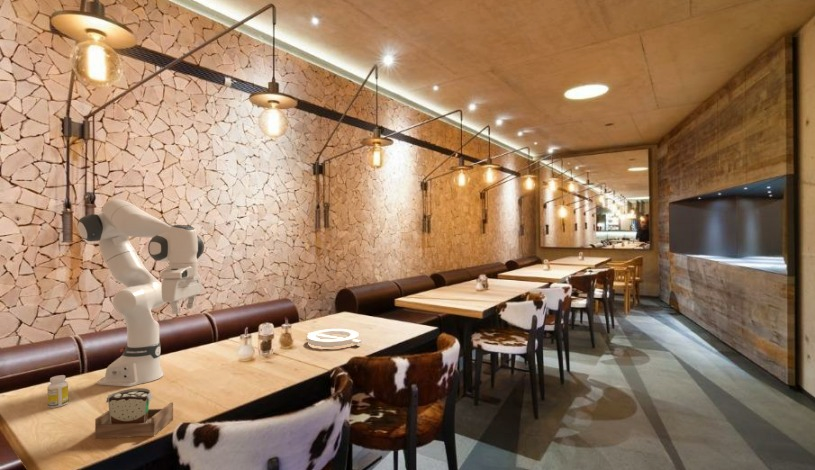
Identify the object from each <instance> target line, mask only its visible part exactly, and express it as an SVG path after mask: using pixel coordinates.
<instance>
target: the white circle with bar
mask: <svg viewBox="0 0 815 470" xmlns="http://www.w3.org/2000/svg"><path fill="white" fill-rule="evenodd" d="M333 334H341V335H347V336H349V337H346V338H343V337H337V336H330V335H333ZM359 336H360V335H359V332H357V331H355V330H352V329H345V328H329V329H320V330H316V331H312V332H308V333H306V339H307V341H306V342H308V343H309V344H311V345H314V346H321V347H334V346H342V345H347V344H351V343H353V344H358V343H361V344H362V339H359V340H358V338H359ZM320 338H323V339H320Z"/></svg>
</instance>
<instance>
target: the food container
mask: <svg viewBox="0 0 815 470" xmlns="http://www.w3.org/2000/svg"><path fill="white" fill-rule="evenodd" d="M152 399H153V395H152V392H151V390H150V389H149V388H144V387H138V388H137V387H135V388H129V389H123V390H120V391H116V392H113V393H110V394H109V395H107V398H106V402H105V403H108V411H109V413H110V423H111V424H128V423H147V418H148V409H150V402H151V400H152Z"/></svg>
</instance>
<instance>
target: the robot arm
mask: <svg viewBox="0 0 815 470" xmlns="http://www.w3.org/2000/svg"><path fill="white" fill-rule="evenodd" d="M77 230H78V234H80V236H81V238H82V239H83V240H86V242H98V247H99V251H100V253H101V256H102V258H103V260H104V263H106V266H107V267H108V269H109V271H110V273H111V274H112V276H113V278H114V280H115V281H117V282H119V283H121V284H123V285H124V286H126V288H124V289H121V290H119V291H118V292H117V293H115V294H114V297H113V298H112V299H113V300H112V306H113V308H114V310H115V311H116V312H118V313H119V314H120V315H121V316H122V318H123V319H124V323H125V326H126V333H127V335H126V336H127V343H126V344H127V345H126V346H124V347H122V348H120V349H119V350H120V351H119V352H120V353H122V352H123V353H122V355H121V356H120V357H118V358H116V359H115V360H114V361H113V362H111V364H109V365H108V366H107V368H106V370H105V372H104V373H105V374H104V376H103V377H101V378H100V379H99V380H98V381H97V385H98V386H115V387H133V386H137V385H139V384H145V383H150V382H153V381H157V380H158V379H161V378H163V377H164V371H163V367H162V364H161V363H162V361H161V353H162V352H161V349H162V348H161V341H160V324H159V322H158V321H157V320H155V319H154V317H153V314H152V310H153V309H157V308H160V307H163V305H165V304H167V303H169V304H170V306H171V311H172V314H173V315H176V314H180V313H181V307H179V303H180V301H181V300H184V299H188V301H187V303H186V309H187V310H189V309H194V307H195V306H194V305H195V304H194V303H195V301H196V296H197V295H200V294H202V291H203V288H202V277H201V274H199V261H198V259H200V257H201V256H202V255H203V254H204V251H205V244H204V242H203V240H202V238H201V237H200V236H199V235H198V233H197V230H196V228H195V227H193V226H191V225H185V224H175V225H173V224H170V223H169V222H166V221H164V220H162V219H161V218H157V217H156V216H153V215H152V214H150V213H148V212H147V211H144V210H142V209H141V208H140V207H138V206H137V205H135V204H134V203H131V202H129V201H127V200H124V199H121V198H112V199H110V200H107V201H106V202H105V203H104V204H103V205H102V208H101V211H100V212H96V213H91V214H87V215H85V216H83V217H80V219H78V221H77ZM129 237H131V238H149V239H150V238H151V239H150V241H149V242H148V246H147V250H148V254H149V256H150V258H152V259H153V261H157V262H168V266H167V268H165V269H164V270H163V271H161V273H160V279H162V281H160V280H158V279H157V278H156V277H155V276H154V275H153V274H152V273H151V272H150V271H149V270H148V269H147V268H146V267H145V265H144V263H143V262H142V260H141V258H140V256H139V255H138V253H137V251H136V249H135V248H134V246H133V245H132V244H131V241H130V239H129Z"/></svg>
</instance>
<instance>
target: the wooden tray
mask: <svg viewBox="0 0 815 470" xmlns="http://www.w3.org/2000/svg"><path fill="white" fill-rule="evenodd" d="M94 420H95V421H94V422H95V425H94V426H95V427H94V428H95V431H94V433H95V435H94V436H95V437H94V438H95V439H107V438H108V437H117V438H128V437H127V436H152V437H155V436H156V435H158V434H159V433H160V432H161V431H162V430H163V429H165V427H167V426H168V425H170V423H171V422H173V421H174V402H169V403H168V404H167V405H166V406H164V407H163V408H149V409H148V418H147V423H128V424H111V423H110V413H109V410H107V411H106V412H105V413H103V414H101V415H99V416H97V417H96V418H95V419H94ZM159 431H160V432H159ZM158 432H159V433H158ZM154 435H155V436H154ZM125 436H126V437H125Z"/></svg>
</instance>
